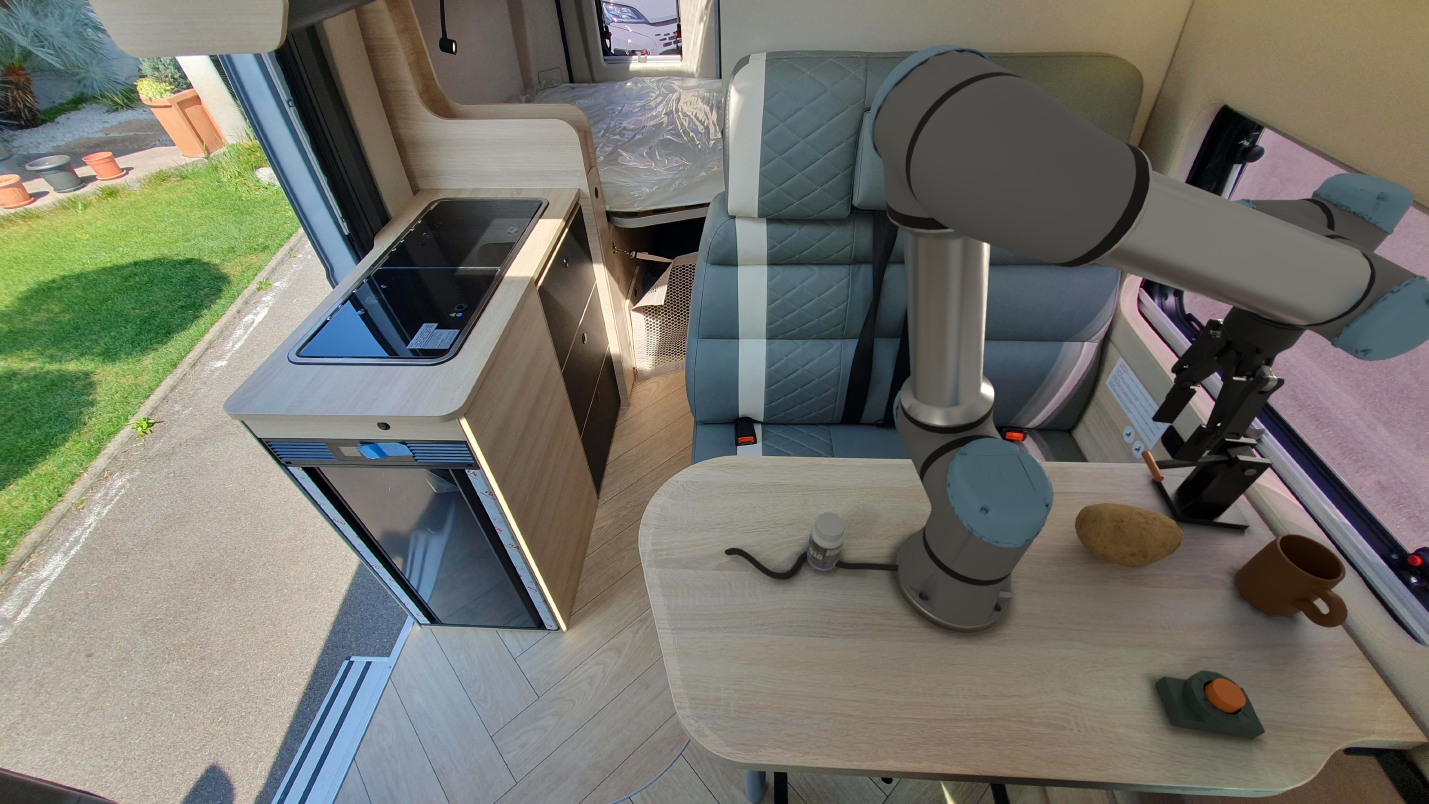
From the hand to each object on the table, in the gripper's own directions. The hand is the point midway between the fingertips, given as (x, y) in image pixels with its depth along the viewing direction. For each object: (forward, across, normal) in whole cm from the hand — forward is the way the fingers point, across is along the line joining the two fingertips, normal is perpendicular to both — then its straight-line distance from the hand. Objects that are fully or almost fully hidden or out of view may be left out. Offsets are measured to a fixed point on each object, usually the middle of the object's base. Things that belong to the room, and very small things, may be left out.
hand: (1173, 439), depth 86 cm
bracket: (+13, 0, -10) cm, 17 cm away
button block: (+13, -34, +4) cm, 37 cm away
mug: (+13, -18, -12) cm, 26 cm away
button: (+10, -34, +4) cm, 35 cm away
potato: (+13, -12, +6) cm, 19 cm away
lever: (+5, 0, -6) cm, 8 cm away
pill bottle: (+13, -20, +50) cm, 55 cm away
